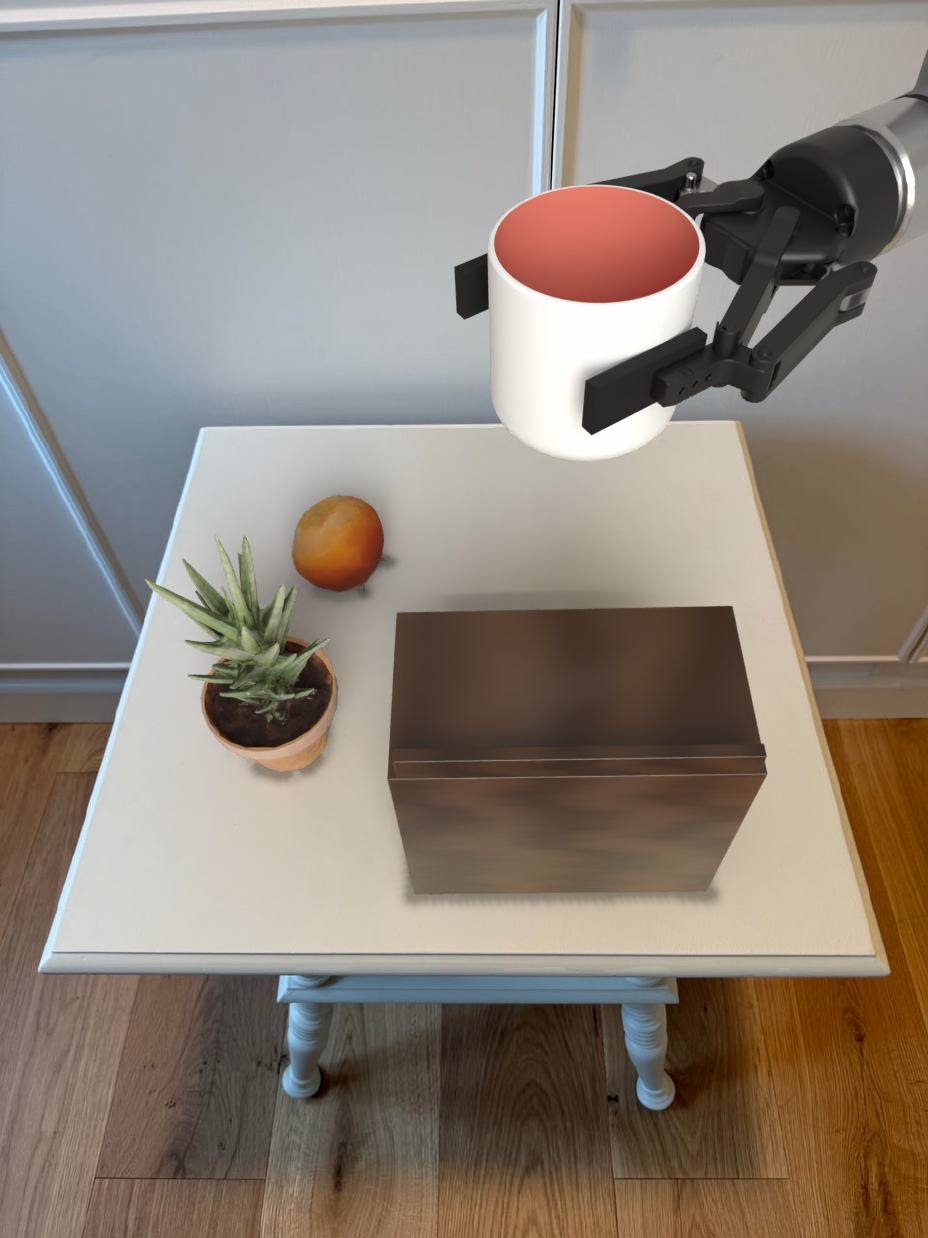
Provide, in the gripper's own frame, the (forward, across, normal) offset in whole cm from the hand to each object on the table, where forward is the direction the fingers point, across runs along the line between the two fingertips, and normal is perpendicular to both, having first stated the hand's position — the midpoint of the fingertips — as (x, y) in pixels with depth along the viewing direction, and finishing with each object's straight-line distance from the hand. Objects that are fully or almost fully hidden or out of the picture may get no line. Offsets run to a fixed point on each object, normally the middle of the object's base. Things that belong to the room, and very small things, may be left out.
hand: (519, 347), depth 44 cm
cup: (-4, 0, -6) cm, 8 cm away
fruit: (+4, +20, -34) cm, 40 cm away
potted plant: (+16, +7, -34) cm, 38 cm away
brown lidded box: (+3, -9, -34) cm, 35 cm away
